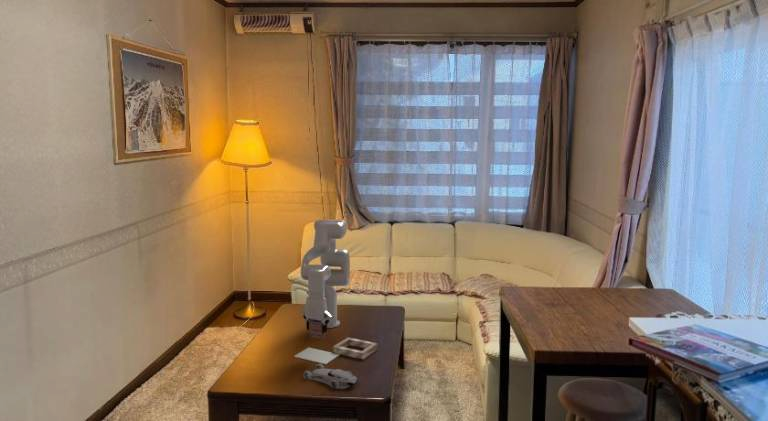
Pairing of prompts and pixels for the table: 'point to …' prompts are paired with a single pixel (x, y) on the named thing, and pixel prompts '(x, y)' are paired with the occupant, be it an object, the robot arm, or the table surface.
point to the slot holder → (368, 346)
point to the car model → (331, 377)
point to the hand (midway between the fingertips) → (316, 330)
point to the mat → (317, 355)
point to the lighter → (315, 328)
